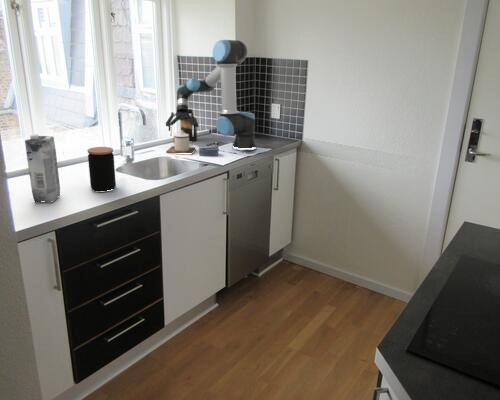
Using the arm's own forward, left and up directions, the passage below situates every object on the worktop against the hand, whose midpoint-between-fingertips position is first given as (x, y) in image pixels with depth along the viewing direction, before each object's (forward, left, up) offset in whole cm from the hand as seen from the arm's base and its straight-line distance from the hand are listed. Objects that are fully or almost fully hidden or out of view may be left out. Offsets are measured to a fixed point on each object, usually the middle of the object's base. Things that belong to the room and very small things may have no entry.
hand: (181, 135), depth 272 cm
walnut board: (-2, +10, -8) cm, 13 cm away
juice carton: (+34, +102, -8) cm, 108 cm away
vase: (0, -22, -8) cm, 23 cm away
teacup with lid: (-1, +10, -7) cm, 12 cm away
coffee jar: (+17, +85, -8) cm, 87 cm away
